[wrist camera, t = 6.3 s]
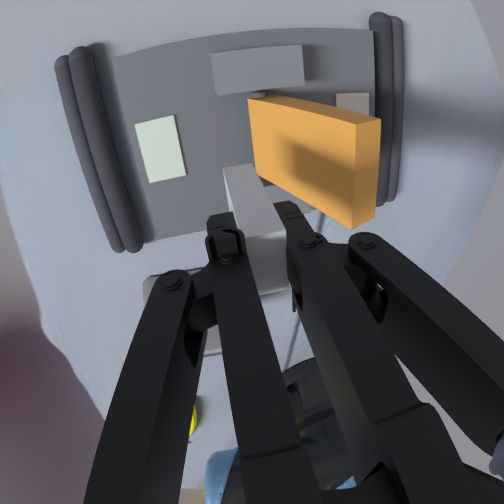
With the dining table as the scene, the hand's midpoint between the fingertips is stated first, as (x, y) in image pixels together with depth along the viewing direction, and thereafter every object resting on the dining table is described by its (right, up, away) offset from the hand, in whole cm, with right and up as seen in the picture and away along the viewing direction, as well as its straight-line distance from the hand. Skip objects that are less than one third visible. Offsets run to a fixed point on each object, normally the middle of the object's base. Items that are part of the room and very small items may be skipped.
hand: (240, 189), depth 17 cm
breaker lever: (+1, +5, +6) cm, 9 cm away
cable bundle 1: (-12, +5, +9) cm, 16 cm away
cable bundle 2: (+12, +10, +11) cm, 19 cm away
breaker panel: (+1, +8, +10) cm, 12 cm away
